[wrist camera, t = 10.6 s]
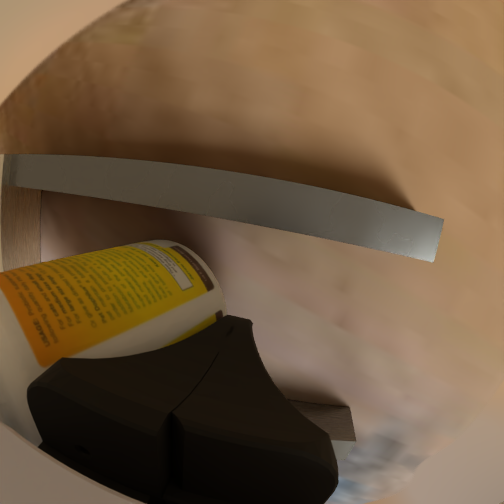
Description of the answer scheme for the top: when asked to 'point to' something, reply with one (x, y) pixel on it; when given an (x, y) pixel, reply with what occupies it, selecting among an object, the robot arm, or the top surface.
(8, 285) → the supplement bottle
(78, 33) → the top surface
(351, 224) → the bay
